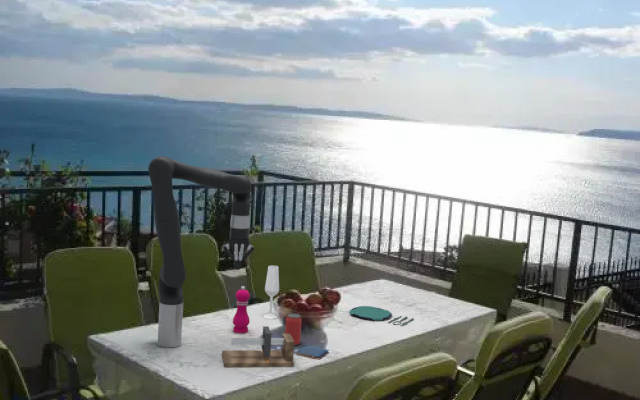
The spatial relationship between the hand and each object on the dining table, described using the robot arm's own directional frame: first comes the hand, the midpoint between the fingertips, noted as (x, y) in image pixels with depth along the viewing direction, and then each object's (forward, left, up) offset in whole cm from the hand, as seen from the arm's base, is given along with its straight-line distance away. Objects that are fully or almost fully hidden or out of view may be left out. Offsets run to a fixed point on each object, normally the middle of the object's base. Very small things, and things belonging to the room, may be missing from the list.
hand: (237, 269), depth 271 cm
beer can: (+25, +5, -32) cm, 41 cm away
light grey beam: (+8, -15, -26) cm, 31 cm away
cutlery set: (+75, +43, -33) cm, 93 cm away
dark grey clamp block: (+11, -15, -29) cm, 34 cm away
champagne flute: (+21, +43, -32) cm, 58 cm away
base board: (+8, -15, -32) cm, 36 cm away
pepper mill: (+5, +21, -32) cm, 39 cm away
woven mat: (+31, -8, -33) cm, 46 cm away
